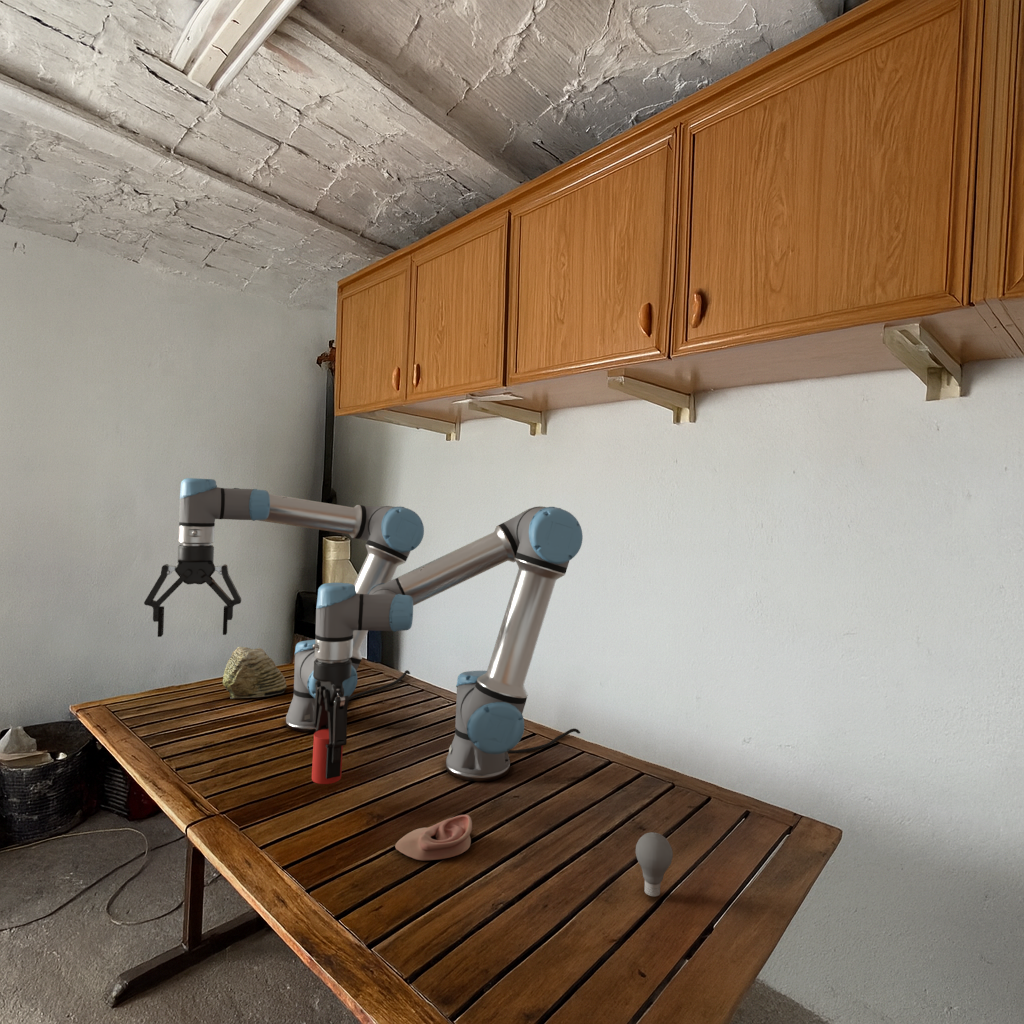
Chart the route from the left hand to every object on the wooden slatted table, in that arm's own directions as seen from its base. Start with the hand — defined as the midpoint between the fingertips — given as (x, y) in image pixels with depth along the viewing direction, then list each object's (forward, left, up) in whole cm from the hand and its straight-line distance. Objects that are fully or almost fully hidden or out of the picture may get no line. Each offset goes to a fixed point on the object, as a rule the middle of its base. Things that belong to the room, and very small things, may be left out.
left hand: (193, 634), depth 148 cm
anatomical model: (-14, +68, -30) cm, 76 cm away
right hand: (-9, +41, -22) cm, 48 cm away
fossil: (-35, -34, -30) cm, 57 cm away
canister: (-9, +41, -24) cm, 48 cm away
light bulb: (-28, +105, -30) cm, 113 cm away
